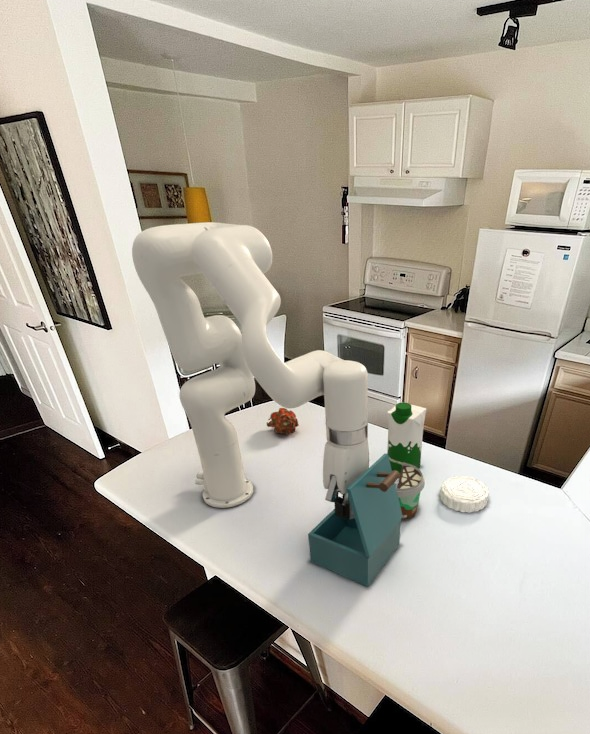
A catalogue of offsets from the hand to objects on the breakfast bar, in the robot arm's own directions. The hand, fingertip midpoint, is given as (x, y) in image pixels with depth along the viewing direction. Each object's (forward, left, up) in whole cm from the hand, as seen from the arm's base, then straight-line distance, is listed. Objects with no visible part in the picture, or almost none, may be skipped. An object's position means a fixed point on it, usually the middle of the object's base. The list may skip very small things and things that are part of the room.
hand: (349, 509), depth 90 cm
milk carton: (+3, +36, -12) cm, 38 cm away
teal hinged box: (+1, 0, -11) cm, 12 cm away
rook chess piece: (0, 0, -1) cm, 1 cm away
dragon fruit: (-39, +45, -12) cm, 61 cm away
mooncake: (+21, +27, -12) cm, 36 cm away
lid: (+6, -1, +4) cm, 7 cm away
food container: (+9, +18, -12) cm, 23 cm away
